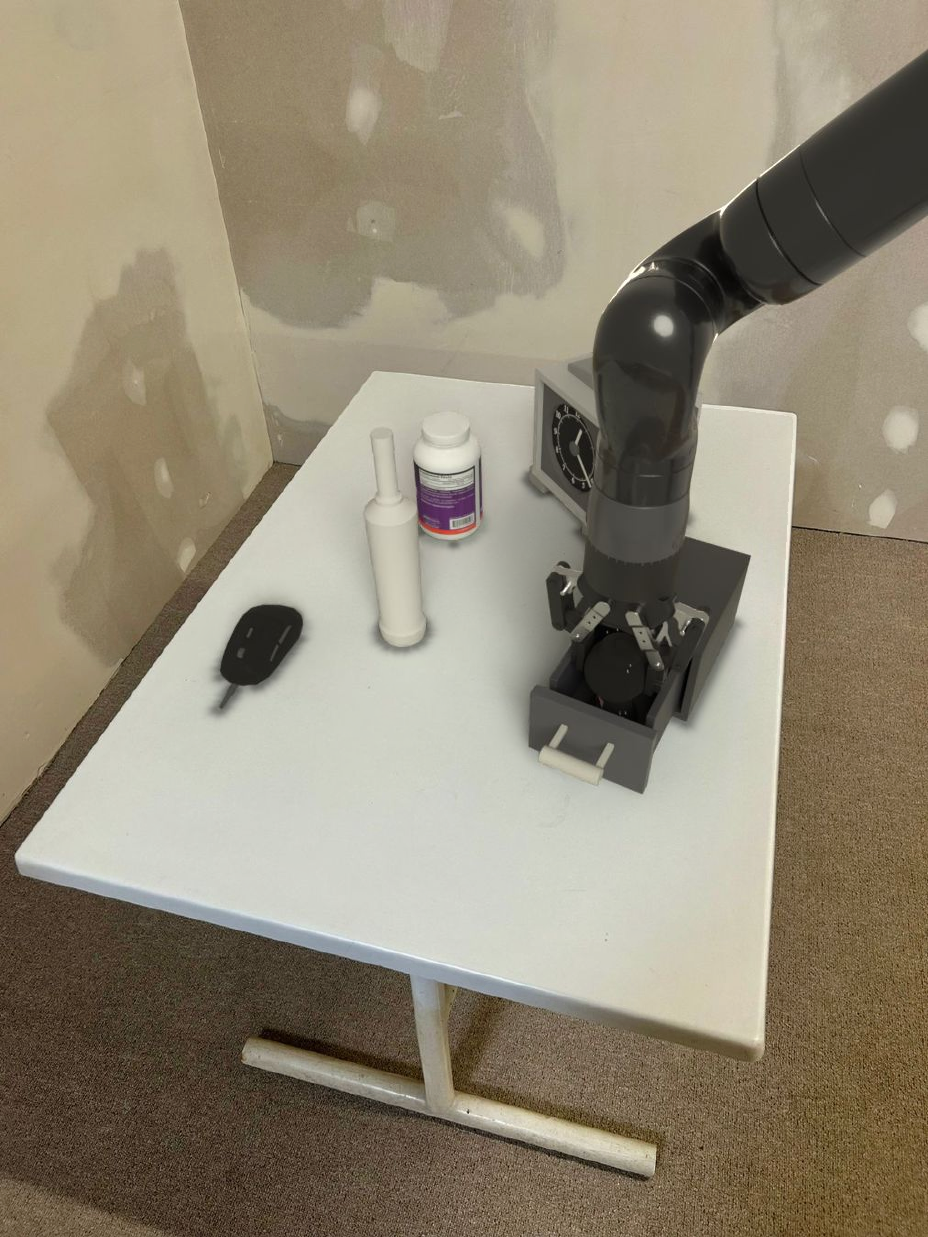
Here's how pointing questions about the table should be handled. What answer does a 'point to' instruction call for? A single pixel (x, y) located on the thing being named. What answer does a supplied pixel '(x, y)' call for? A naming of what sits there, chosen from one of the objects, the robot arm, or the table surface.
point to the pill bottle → (448, 477)
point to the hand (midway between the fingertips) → (616, 676)
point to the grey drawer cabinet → (711, 583)
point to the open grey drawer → (599, 726)
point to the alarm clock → (568, 432)
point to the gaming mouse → (259, 644)
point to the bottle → (394, 549)
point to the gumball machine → (616, 674)
